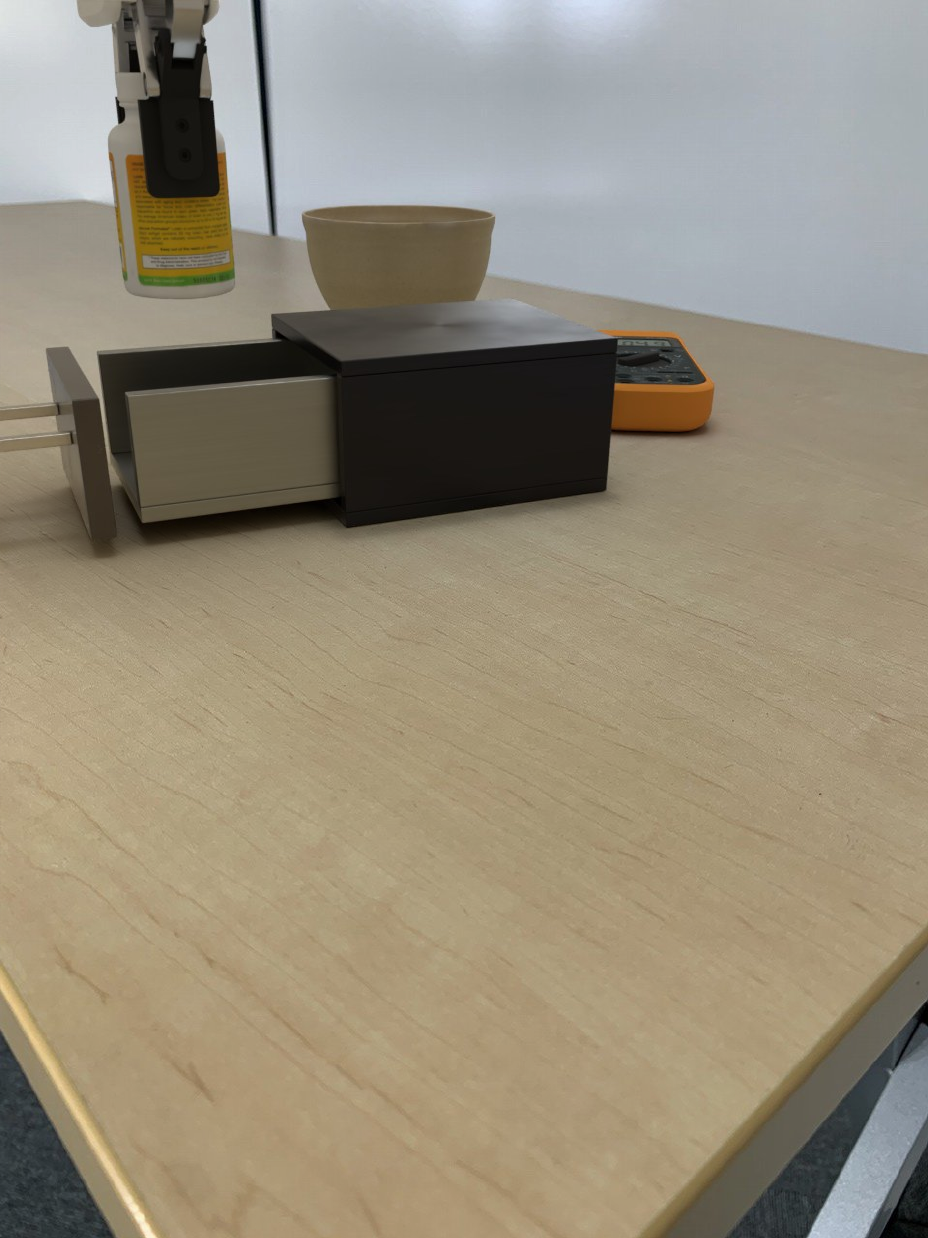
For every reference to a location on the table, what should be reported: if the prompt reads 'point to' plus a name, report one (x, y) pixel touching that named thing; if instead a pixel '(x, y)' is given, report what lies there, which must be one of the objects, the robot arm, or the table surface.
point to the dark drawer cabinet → (461, 405)
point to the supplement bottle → (166, 219)
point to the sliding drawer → (191, 429)
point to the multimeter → (658, 384)
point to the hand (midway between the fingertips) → (170, 186)
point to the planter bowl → (397, 253)
